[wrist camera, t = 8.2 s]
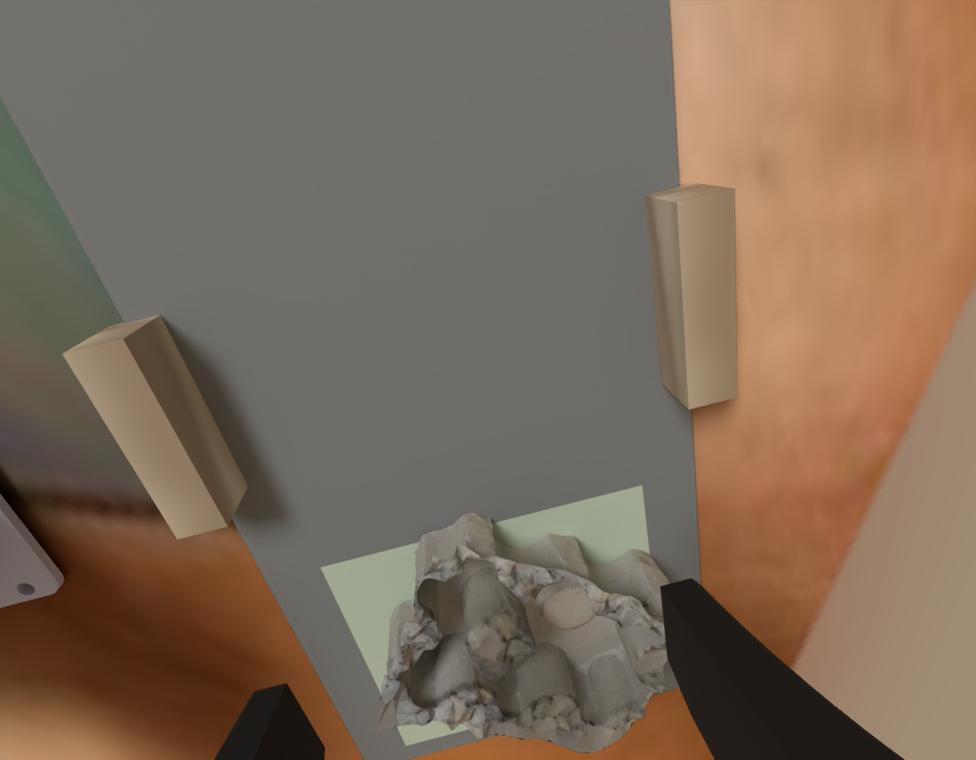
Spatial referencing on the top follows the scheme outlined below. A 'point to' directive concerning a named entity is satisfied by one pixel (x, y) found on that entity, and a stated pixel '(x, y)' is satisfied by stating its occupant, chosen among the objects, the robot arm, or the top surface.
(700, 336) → the lane walls
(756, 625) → the top surface
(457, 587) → the egg carton
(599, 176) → the lane mat
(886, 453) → the top surface
